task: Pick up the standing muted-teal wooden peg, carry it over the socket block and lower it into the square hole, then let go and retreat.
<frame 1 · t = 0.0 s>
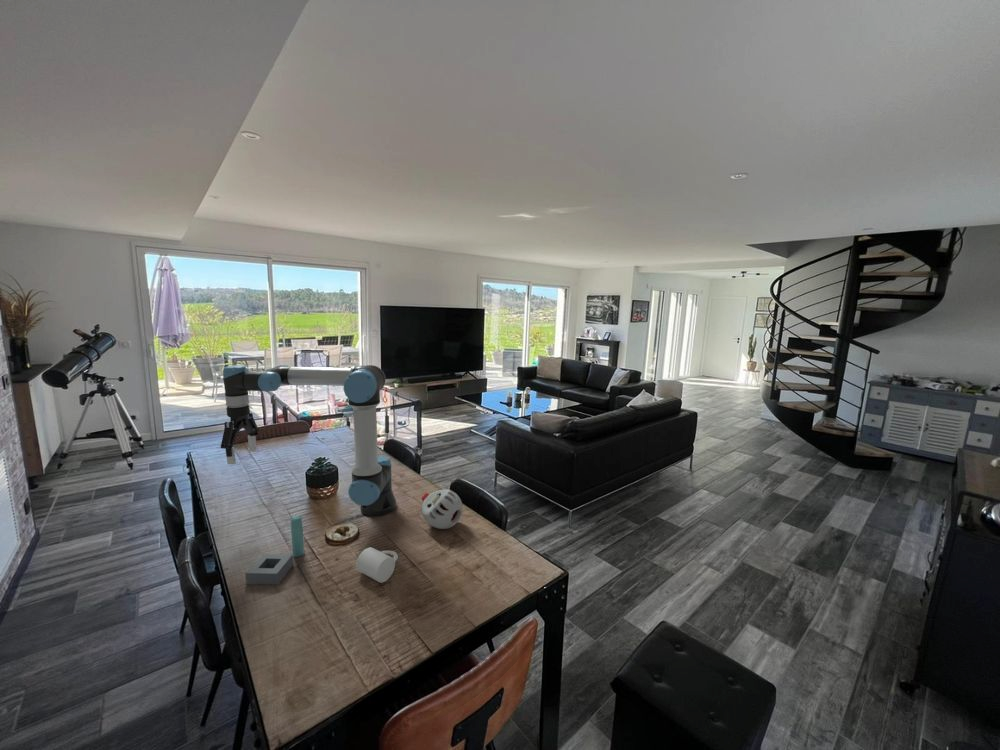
hand: (242, 457, 159), 28 cm above the table, fingers open, 13 cm apart
sushi roll: (342, 537, 157), on the table
decorative object: (439, 524, 166), on the table
peg: (298, 554, 145), on the table
socket: (270, 574, 134), on the table
mug: (380, 572, 136), on the table
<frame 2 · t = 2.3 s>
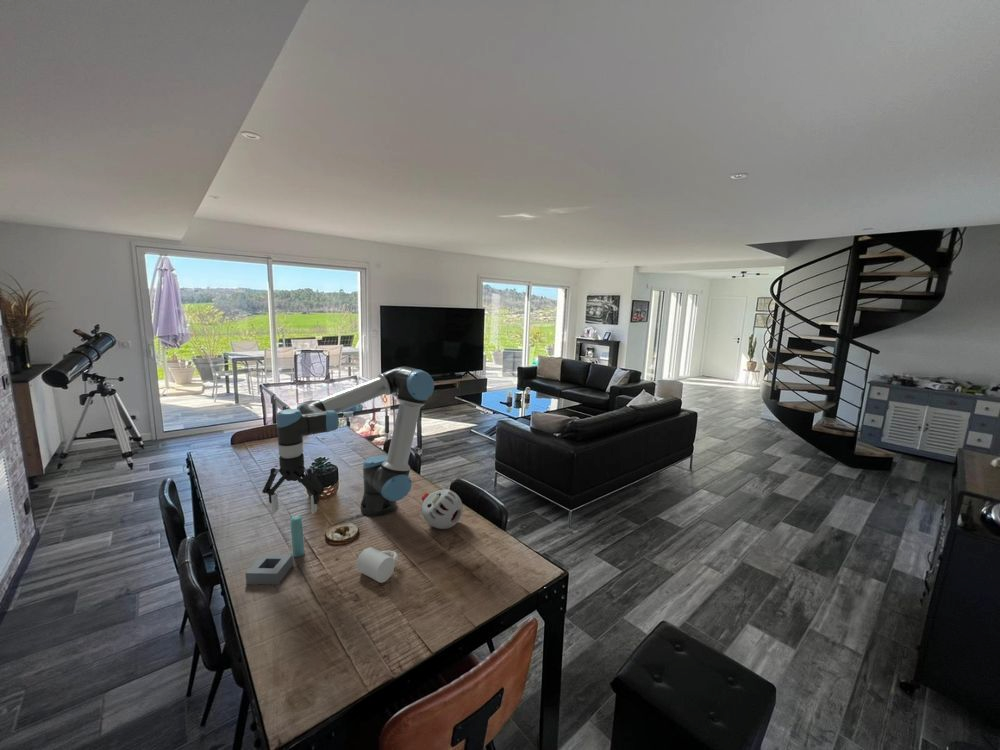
hand: (294, 511, 141), 17 cm above the table, fingers open, 13 cm apart
nothing on the table moved.
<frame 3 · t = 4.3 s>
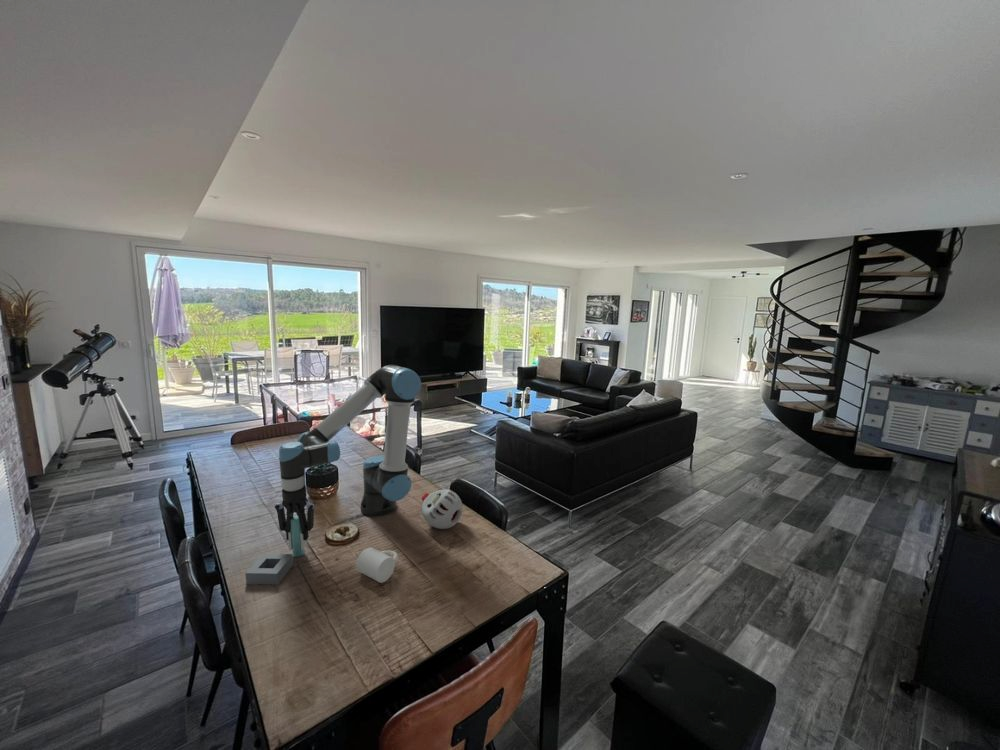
hand: (298, 547, 144), 3 cm above the table, fingers closed on peg, 3 cm apart
peg: (298, 554, 145), on the table, touching gripper
everything else where it was.
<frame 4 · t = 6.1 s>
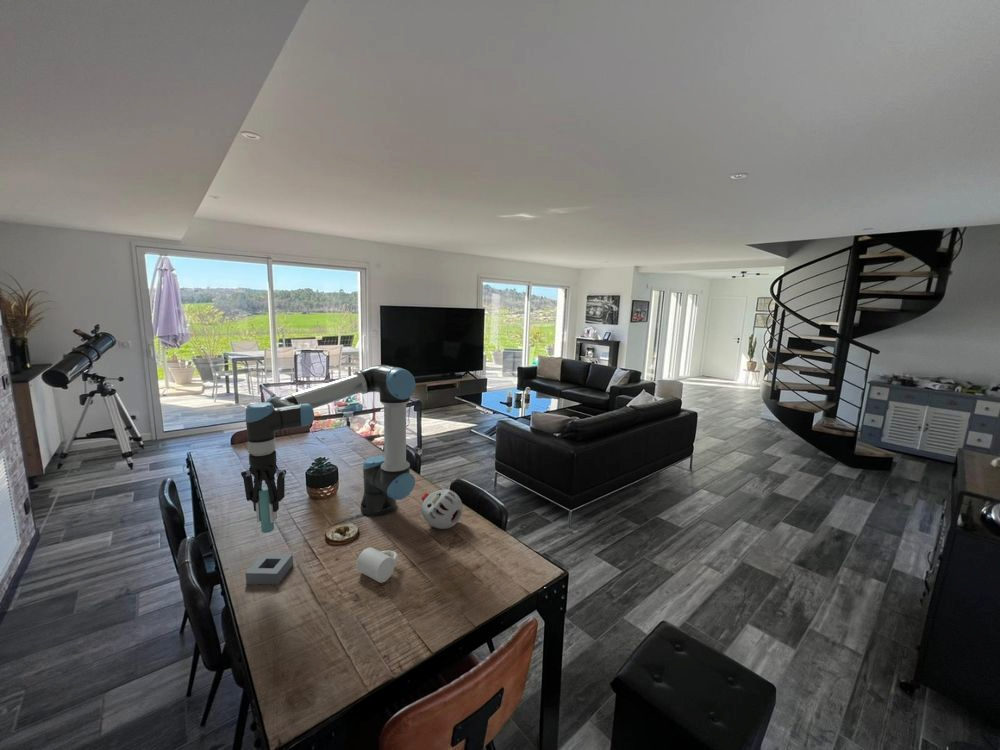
hand: (267, 520, 131), 19 cm above the table, fingers closed on peg, 3 cm apart
peg: (267, 529, 131), point 16 cm above the table, touching gripper
everything else where it was.
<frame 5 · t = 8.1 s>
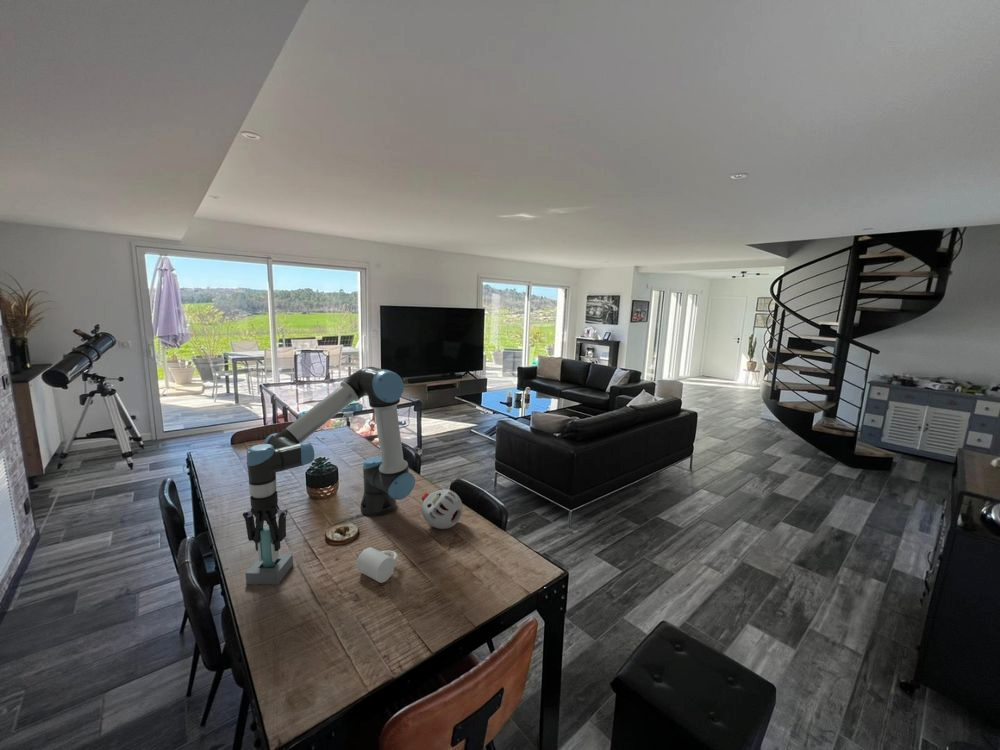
hand: (269, 558, 133), 6 cm above the table, fingers closed on peg, 3 cm apart
peg: (269, 568, 133), point 2 cm above the table, touching gripper
everything else where it was.
when the fingers open (5 cm above the table, at t = 8.4 s): peg drops 1 cm, resting in socket.
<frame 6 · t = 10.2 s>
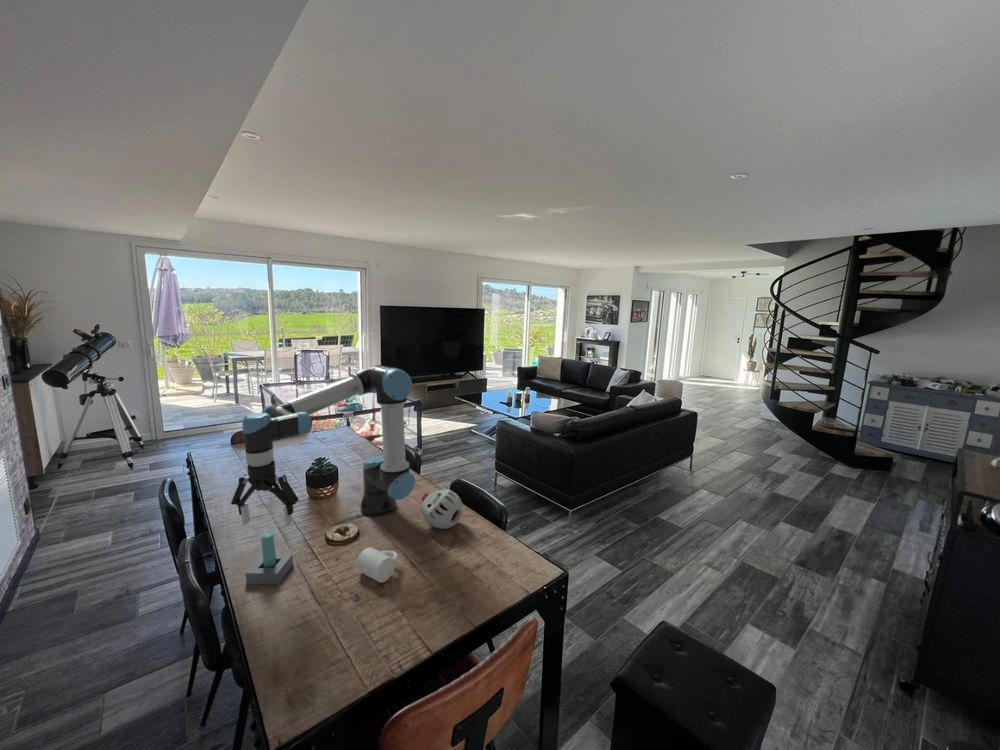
hand: (267, 523, 131), 18 cm above the table, fingers open, 13 cm apart
peg: (270, 574, 134), resting in socket
everything else where it was.
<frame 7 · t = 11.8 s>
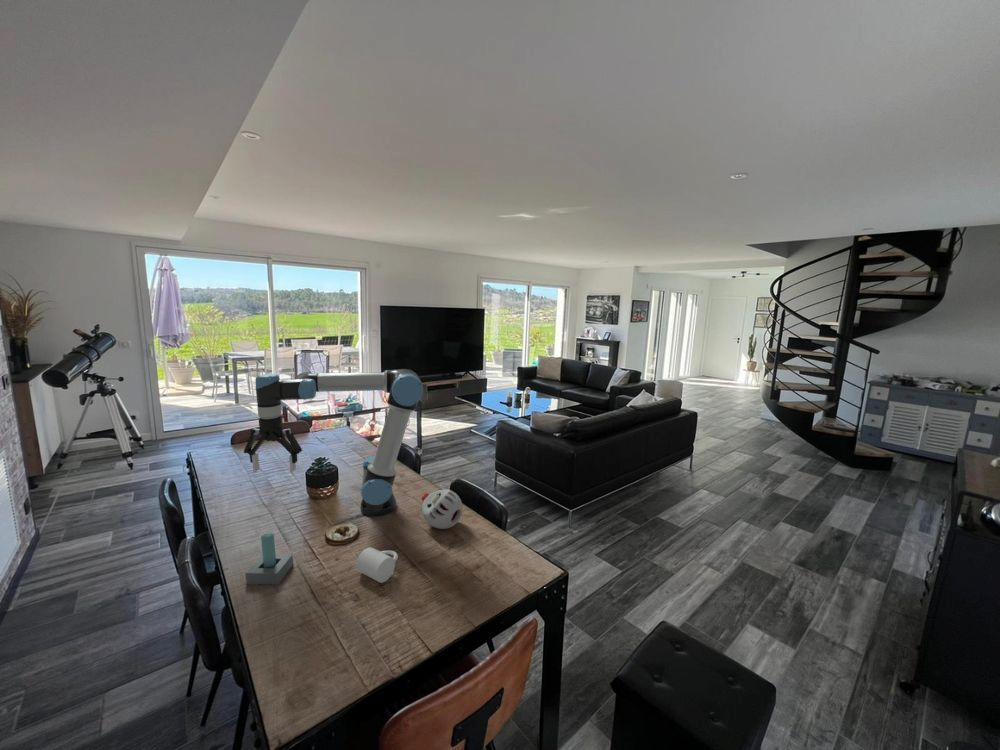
hand: (274, 470, 151), 27 cm above the table, fingers open, 13 cm apart
nothing on the table moved.
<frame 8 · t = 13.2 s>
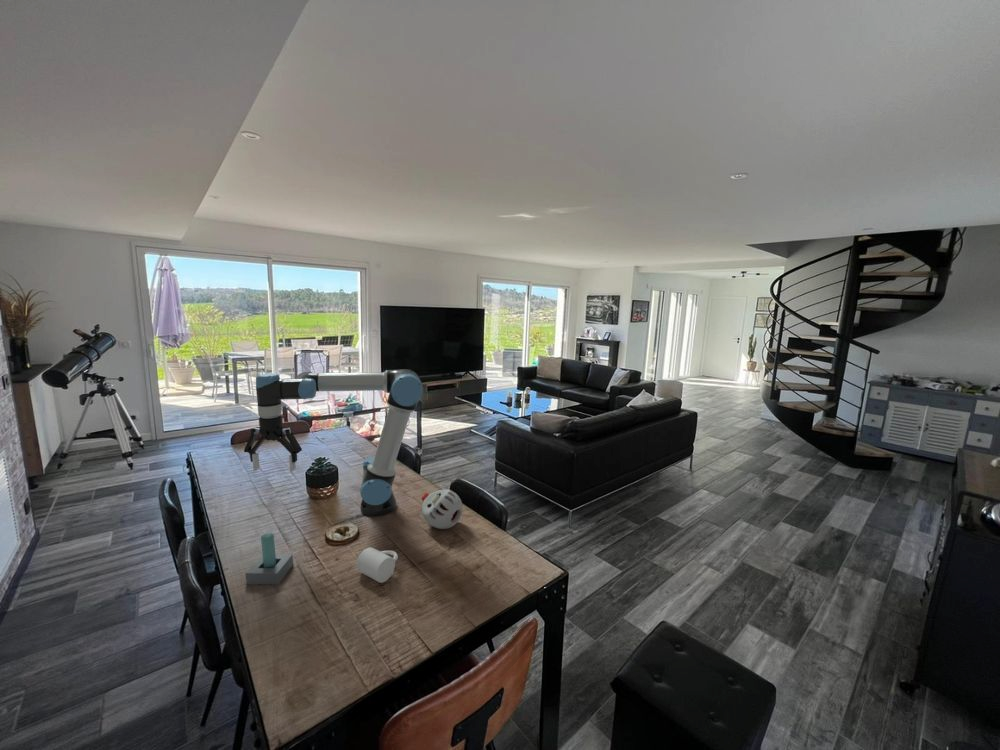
hand: (274, 469, 151), 27 cm above the table, fingers open, 13 cm apart
nothing on the table moved.
at the end: peg 0.1 cm off-centre on the socket, point 0.0 cm above the socket's base; peg tilted 0°; the gripper is holding nothing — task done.
